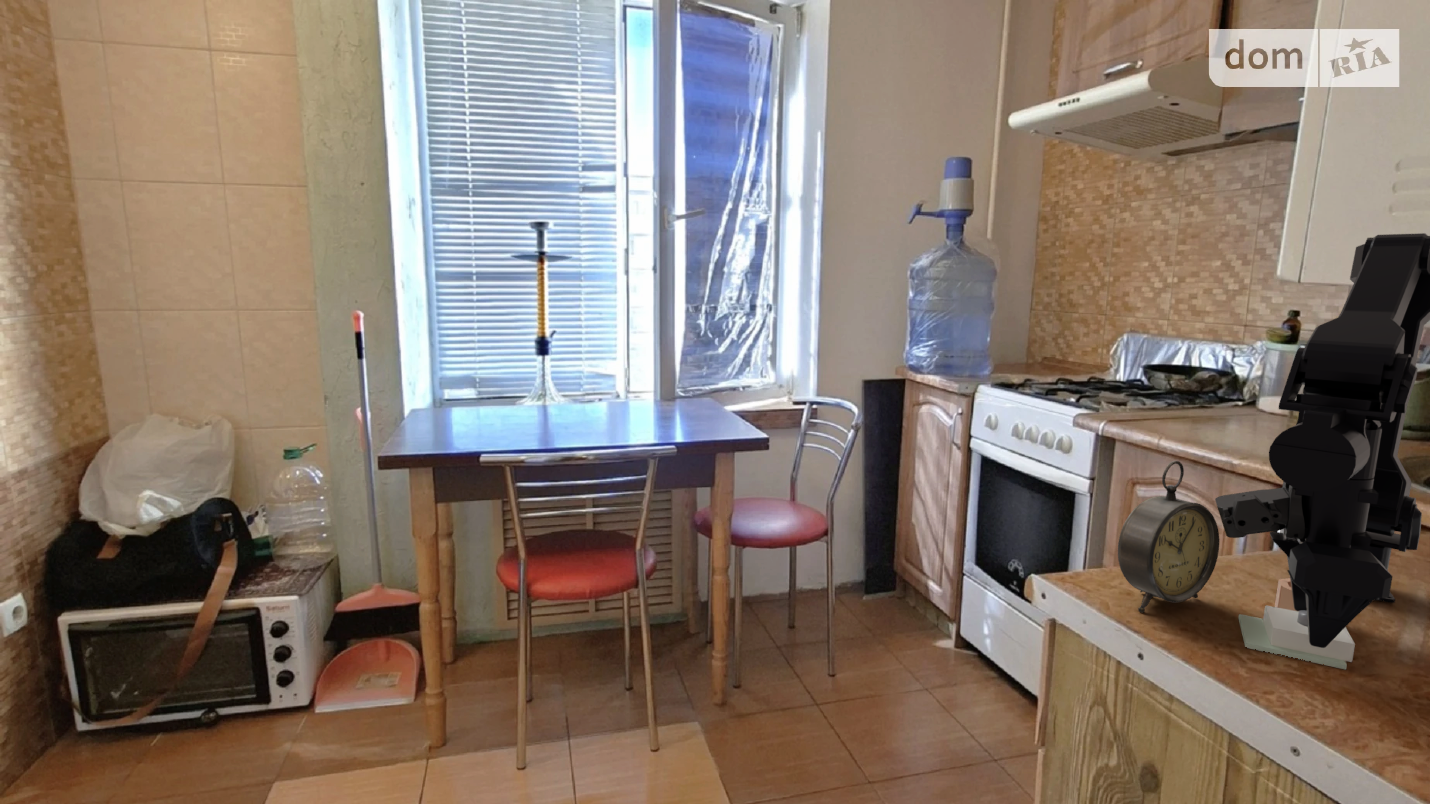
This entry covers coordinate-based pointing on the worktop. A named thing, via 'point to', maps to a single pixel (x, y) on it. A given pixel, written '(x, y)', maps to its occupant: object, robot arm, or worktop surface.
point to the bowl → (1284, 595)
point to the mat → (1259, 640)
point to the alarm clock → (1168, 546)
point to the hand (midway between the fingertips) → (1308, 627)
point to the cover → (1303, 634)
